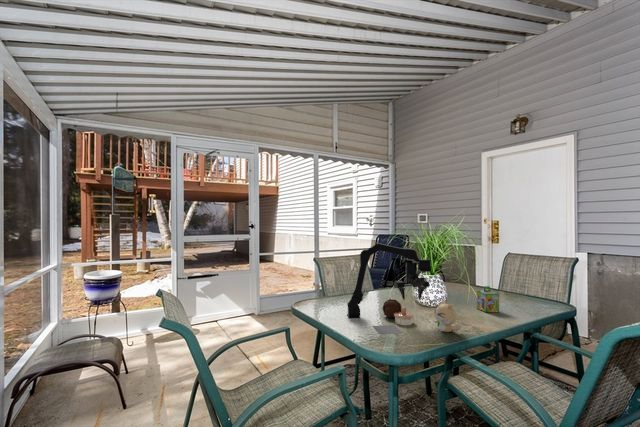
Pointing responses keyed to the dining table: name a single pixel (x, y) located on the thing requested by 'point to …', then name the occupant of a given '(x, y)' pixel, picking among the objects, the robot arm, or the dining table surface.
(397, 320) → the bowl
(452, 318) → the kitten
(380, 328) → the mat
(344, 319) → the dining table surface
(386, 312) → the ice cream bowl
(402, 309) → the lid
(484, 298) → the chalk box
